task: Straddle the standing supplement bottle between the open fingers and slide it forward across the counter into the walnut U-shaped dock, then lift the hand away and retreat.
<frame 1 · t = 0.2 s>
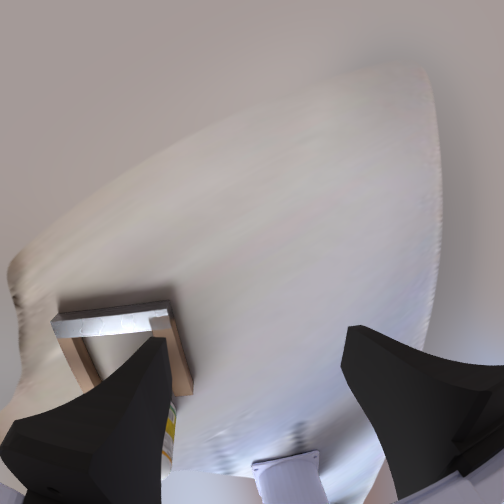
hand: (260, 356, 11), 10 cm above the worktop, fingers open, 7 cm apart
supplement bottle: (148, 405, 23), on the worktop
walnut dock: (124, 354, 21), on the worktop
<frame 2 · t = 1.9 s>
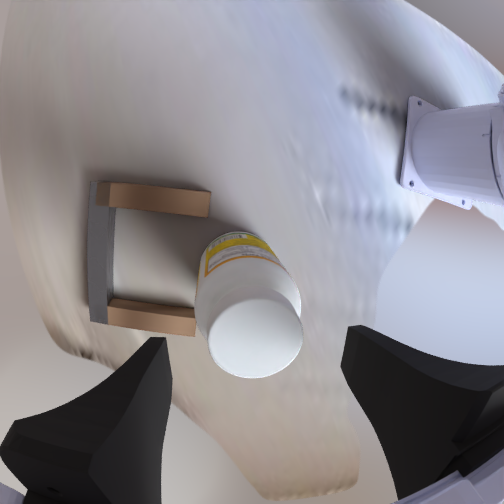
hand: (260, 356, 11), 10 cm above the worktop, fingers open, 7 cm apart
supplement bottle: (237, 267, 21), on the worktop
walnut dock: (149, 257, 20), on the worktop
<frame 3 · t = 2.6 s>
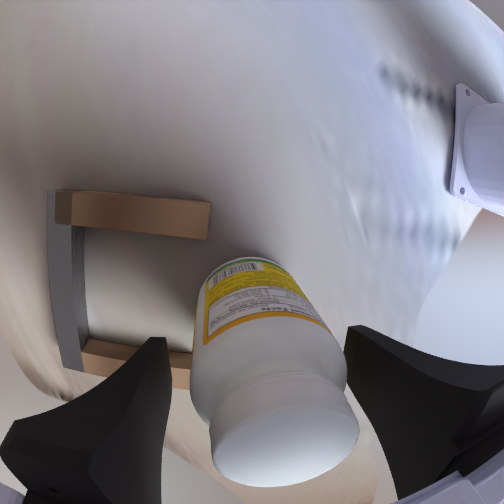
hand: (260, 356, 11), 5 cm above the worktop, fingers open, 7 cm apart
supplement bottle: (247, 302, 15), on the worktop
walnut dock: (130, 290, 14), on the worktop
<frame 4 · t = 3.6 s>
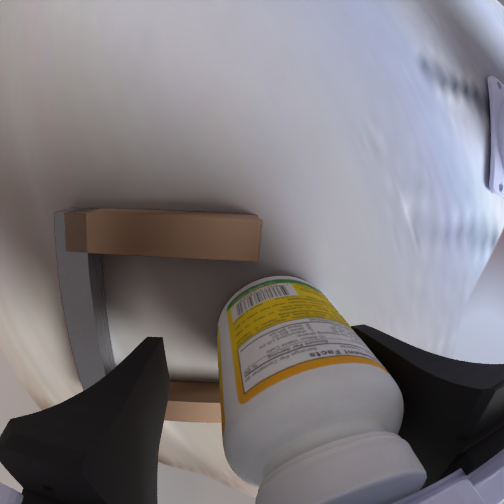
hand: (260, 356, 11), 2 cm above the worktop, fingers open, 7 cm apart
supplement bottle: (273, 325, 13), on the worktop, touching gripper
walnut dock: (163, 322, 12), on the worktop
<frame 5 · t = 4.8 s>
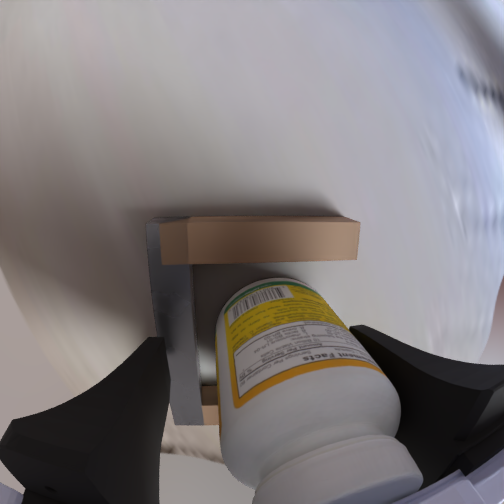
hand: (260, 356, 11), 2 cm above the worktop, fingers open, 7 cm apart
supplement bottle: (271, 327, 13), on the worktop, touching gripper
walnut dock: (256, 326, 13), on the worktop
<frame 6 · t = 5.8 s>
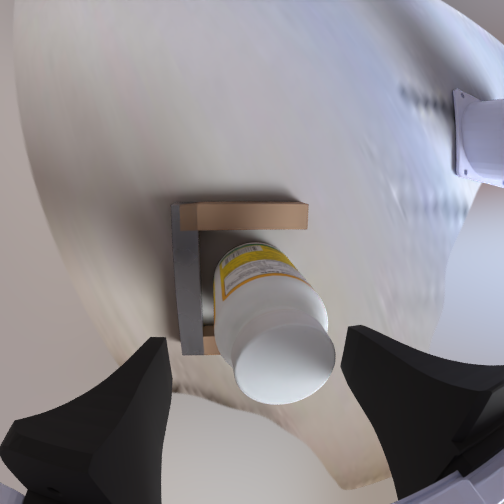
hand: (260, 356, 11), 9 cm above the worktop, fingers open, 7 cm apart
supplement bottle: (252, 279, 20), on the worktop
walnut dock: (242, 277, 19), on the worktop
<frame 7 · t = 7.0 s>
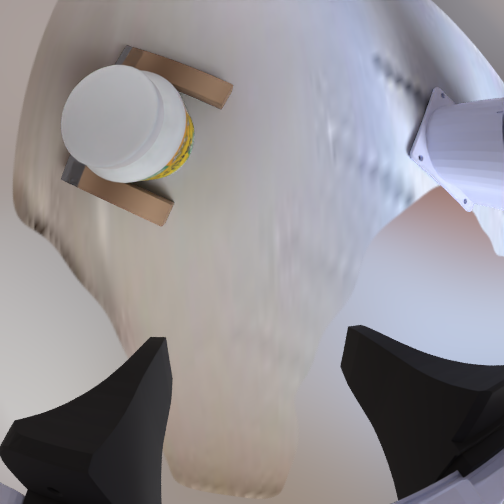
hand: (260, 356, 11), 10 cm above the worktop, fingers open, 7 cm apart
supplement bottle: (156, 140, 18), on the worktop
walnut dock: (147, 133, 17), on the worktop
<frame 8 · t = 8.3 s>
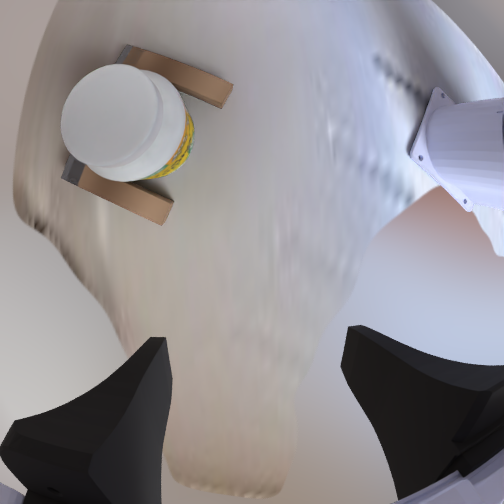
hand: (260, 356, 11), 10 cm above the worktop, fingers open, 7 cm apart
supplement bottle: (156, 139, 18), on the worktop
walnut dock: (148, 132, 17), on the worktop
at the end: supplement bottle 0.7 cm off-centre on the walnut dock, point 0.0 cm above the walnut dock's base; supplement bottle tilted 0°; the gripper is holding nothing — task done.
